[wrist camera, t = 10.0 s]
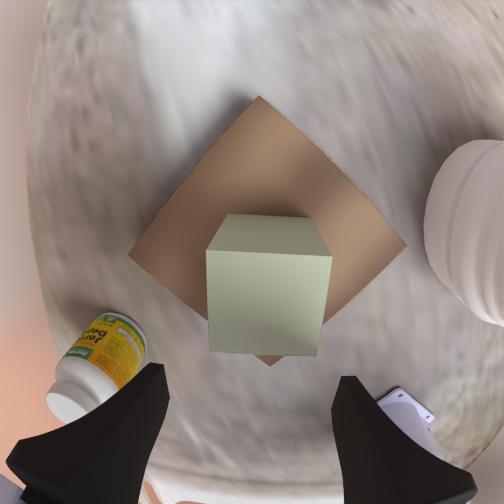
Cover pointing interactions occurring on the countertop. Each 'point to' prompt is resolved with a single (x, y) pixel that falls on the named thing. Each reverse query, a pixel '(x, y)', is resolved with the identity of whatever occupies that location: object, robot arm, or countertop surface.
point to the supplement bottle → (96, 366)
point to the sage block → (267, 285)
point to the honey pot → (469, 227)
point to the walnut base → (266, 210)
